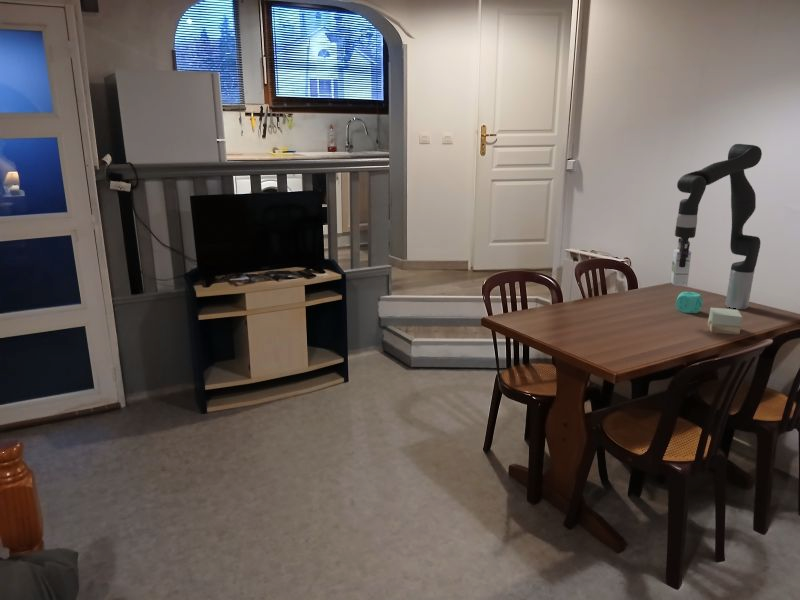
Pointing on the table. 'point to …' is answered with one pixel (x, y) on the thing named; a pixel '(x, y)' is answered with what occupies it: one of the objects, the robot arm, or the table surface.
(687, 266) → the syrup box
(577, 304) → the table surface
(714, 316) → the tower top
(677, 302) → the decorative dice
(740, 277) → the robot arm
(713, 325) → the tower bottom
